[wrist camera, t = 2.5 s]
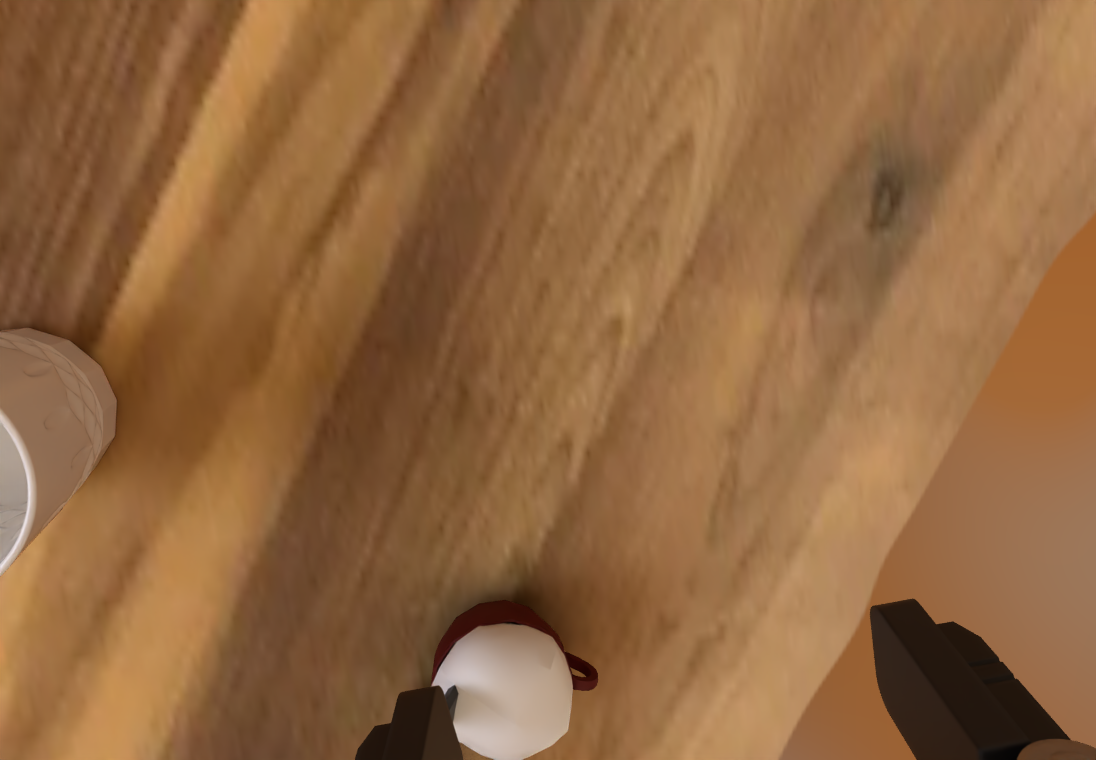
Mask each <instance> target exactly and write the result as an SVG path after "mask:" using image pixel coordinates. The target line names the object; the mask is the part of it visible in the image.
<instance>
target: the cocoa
mask: <svg viewBox="0 0 1096 760" xmlns="http://www.w3.org/2000/svg"><path fill="white" fill-rule="evenodd" d="M570 667H571V668H573V669H575V670H577V671H579V672H581V673H583V674H584V675H585V676H586V677H579V676H575V675H573V674H572V672H571V669H570ZM597 682H598V673H597V671H596V669H595V668H594V667H593V666H592V665H590V664H589V663H588V662H586V661H584V660H582V659H580V658H578V657H576V656H574V655H572V654H570V653H567V652H565V651H564V648H563V645H562V643H561V641H560V638H559V636H558V635H557V633H556V632H555V631H554V630H553V629H552V628H551V627H550V626H549V625H548V624H547V623H546V622H545V621H544V620H543V619H542V618H540V617H539V616H538V615H537V614H536V613H535V612H534V611H533V610H532V609H530V608H529V607H527V606H524V605H520V604H517V603H513V602H510V601H506V600H501V601H494V602H487V603H480V604H477V605H476V606H474V607H473V608H471V609H469V610H468V611H466V612H464V613H463V614H461V615H460V616H458V617H456V619H455V620H454V622H453V623H452V625H451V626H450V627H449V629H448V630H447V632H446V633H445V635H444V636H443V638H442V639H441V641H440V643H439V645H438V647H437V650H436V653H435V658H434V666H433V673H432V681H431V687H432V686H437V685H439V686H440V687H441V688H442V690H443V692H444V695H445V698H446V701H447V705H448V708H449V711H450V715H451V718H452V721H453V724H454V728H455V731H456V734H457V738H458V741H459V742H461V743H463V744H464V745H466V746H467V747H469V748H471V749H472V750H474V751H476V752H477V753H479V754H480V755H483V756H486V757H489V758H492V759H495V760H522V759H525V758H527V757H529V756H532V755H534V754H536V753H538V752H540V751H542V750H544V749H546V748H548V747H550V746H552V745H553V744H554V743H555V742H556V741H557V740H559V739H560V738H561V737H562V736H563V735H564V734H565V733H566V732H567V731H568V727H569V720H570V712H571V703H572V691H573V689H574V690H581V691H589V690H592V689H594V688H595V687H596V685H597Z"/></svg>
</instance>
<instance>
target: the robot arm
mask: <svg viewBox="0 0 1096 760" xmlns="http://www.w3.org/2000/svg"><path fill="white" fill-rule="evenodd" d="M870 620H871V630H872V639H873V649H874V658H875V667H876V677H877V682H878V686H879V690H880V693H881V696H882V699H883V701H884V704H885V706H886V708H887V711H888V712H889V714H890V716H891V718H892V719H893V721H894V723H895V724H896V726H897V728H898V729H899V731H900V733H901V734H902V736H903V737H904V739H905V741H906V743H907V744H908V746H909V747H910V749H911V751H912V753H913V754H914V756H915V757H916V759H917V760H1096V748H1094V747H1092V746H1089V745H1087V744H1083V743H1080V742H1076V741H1072V740H1070V738H1069V737H1068V736H1067V735H1066V734H1065V733H1064V732H1063V730H1062V729H1061V728H1060V727H1059V726H1058V725H1057V724H1056V723H1055V721H1054V720H1053V719H1052V718H1051V717H1050V716H1049V714H1048V713H1047V712H1046V711H1045V710H1044V709H1043V708H1042V707H1041V705H1040V704H1039V703H1038V702H1037V701H1036V700H1035V699H1034V698H1033V696H1032V695H1031V694H1030V693H1029V692H1028V691H1027V689H1026V688H1025V687H1024V686H1023V685H1022V684H1021V683H1020V681H1019V680H1018V679H1015V678H1014V675H1013V673H1011V671H1010V670H1009V669H1008V668H1007V667H1006V666H1005V664H1004V663H1003V662H1000V661H999V658H998V656H997V655H996V654H995V653H994V652H993V651H992V650H991V648H990V647H989V646H988V645H987V644H986V643H985V642H984V640H983V639H982V638H981V637H979V636H978V635H976V634H974V633H972V632H971V631H969V630H967V629H965V628H964V627H962V626H960V625H958V624H957V623H955V622H947V623H942V624H935V622H934V621H933V620H932V619H931V617H930V616H929V615H928V614H927V612H926V611H925V610H924V609H923V608H922V606H921V605H920V604H919V603H918V602H917V601H916V600H915V599H908V600H903V601H898V602H892V603H887V604H881V605H875V606H872V607H871V609H870ZM355 760H463V756H462V751H461V748H460V744H459V741H458V738H457V734H456V731H455V728H454V724H453V721H452V718H451V715H450V711H449V708H448V705H447V701H446V698H445V695H444V692H443V690H442V688H441V687H440V686H439V685H437V686H432V687H427V688H421V689H416V690H410V691H405V692H401V693H400V694H399V696H398V699H397V702H396V706H395V710H394V714H393V718H392V722H391V723H389V724H384V725H378V726H375V727H374V728H373V730H372V731H371V732H370V734H369V735H368V736H367V738H366V739H365V740H364V742H363V743H362V744H361V746H360V747H359V748H358V751H357V754H356V757H355Z"/></svg>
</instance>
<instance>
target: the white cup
mask: <svg viewBox="0 0 1096 760" xmlns="http://www.w3.org/2000/svg"><path fill="white" fill-rule="evenodd" d="M116 409H117V399H116V397H115V395H114V393H113V391H112V389H111V386H110V384H109V382H108V380H107V378H106V376H105V374H104V372H103V370H102V367H101V366H100V365H99V364H98V363H97V362H95V361H94V360H93V359H92V358H90V357H89V356H88V355H87V354H86V353H84V352H83V351H82V350H81V349H80V348H78V347H77V346H76V345H75V344H74V343H72V342H71V341H70V340H67V339H64V338H61V337H57V336H54V335H51V334H48V333H44V332H41V331H38V330H34V329H31V328H19V329H9V330H0V576H1V575H2V574H3V573H4V572H5V571H6V570H7V569H8V568H9V567H10V566H11V565H12V564H13V562H14V561H15V560H16V559H17V558H18V557H19V556H20V555H21V553H22V552H23V551H24V550H25V549H26V548H27V547H28V546H29V545H30V544H31V542H32V541H33V540H34V539H35V538H36V537H37V536H38V535H39V534H40V533H41V532H42V530H43V529H44V528H45V527H46V526H47V525H48V524H49V523H50V522H51V521H52V520H53V519H54V518H55V516H56V515H57V514H58V513H59V512H60V511H61V510H62V508H63V507H64V506H65V504H66V503H67V502H68V501H69V500H70V498H71V497H72V496H73V495H74V494H75V493H76V491H77V490H78V489H79V488H80V487H81V485H82V484H83V483H84V482H85V480H86V479H87V478H88V476H89V475H90V473H91V472H92V471H93V469H94V468H95V467H96V466H97V464H98V463H99V461H100V460H101V458H102V456H103V455H104V453H105V451H106V450H107V448H108V447H109V445H110V443H111V442H112V440H113V439H114V437H115V430H116Z"/></svg>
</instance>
